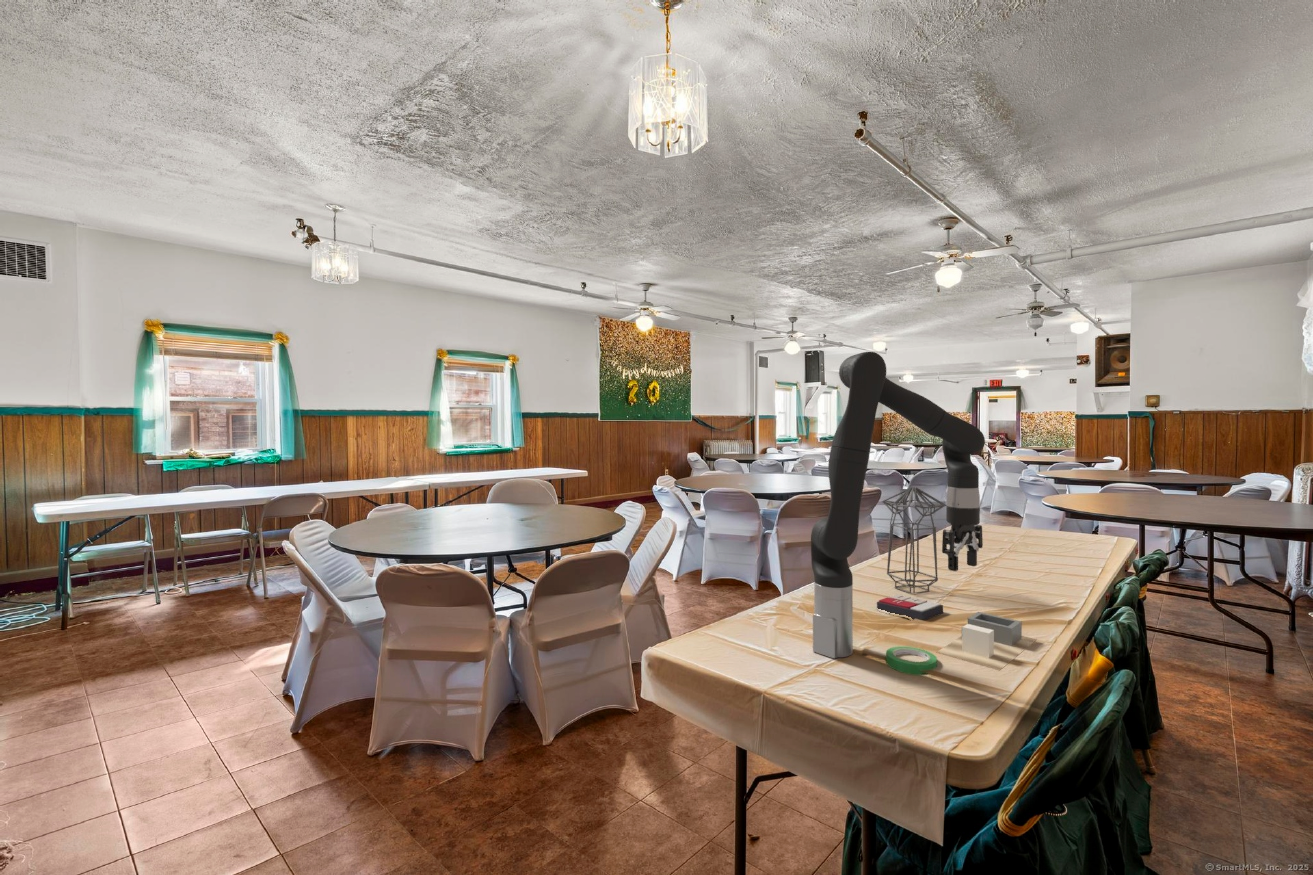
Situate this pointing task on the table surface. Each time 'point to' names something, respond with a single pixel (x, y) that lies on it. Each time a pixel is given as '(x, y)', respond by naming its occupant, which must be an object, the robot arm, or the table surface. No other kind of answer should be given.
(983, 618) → the end holder
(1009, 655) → the beige mat
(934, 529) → the geometric lantern
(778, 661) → the table surface
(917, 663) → the tape roll
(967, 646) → the white block
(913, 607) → the calculator
